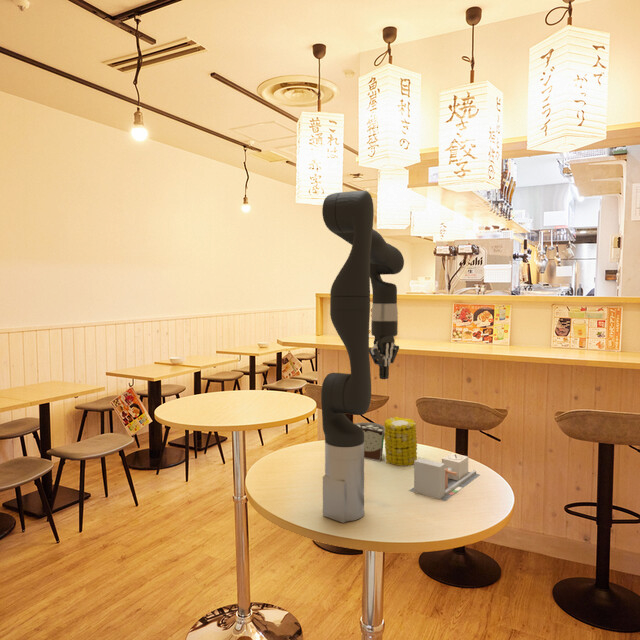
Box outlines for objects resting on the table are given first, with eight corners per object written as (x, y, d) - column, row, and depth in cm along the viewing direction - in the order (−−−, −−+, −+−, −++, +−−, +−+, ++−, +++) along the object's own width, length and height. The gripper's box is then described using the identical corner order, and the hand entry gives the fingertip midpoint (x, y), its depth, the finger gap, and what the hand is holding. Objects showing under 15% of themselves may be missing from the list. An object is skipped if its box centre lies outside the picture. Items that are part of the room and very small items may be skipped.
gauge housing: (454, 484, 129) (454, 464, 128) (436, 479, 132) (436, 460, 132) (468, 474, 136) (468, 455, 135) (451, 470, 139) (451, 451, 138)
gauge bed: (445, 506, 119) (445, 468, 119) (408, 496, 125) (409, 459, 125) (480, 479, 136) (480, 446, 135) (446, 471, 142) (446, 439, 142)
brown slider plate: (455, 491, 124) (455, 472, 123) (429, 485, 128) (430, 466, 128) (457, 490, 125) (457, 471, 124) (432, 483, 129) (432, 465, 129)
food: (420, 468, 150) (405, 480, 142) (387, 452, 156) (371, 462, 148) (430, 422, 146) (415, 432, 138) (396, 408, 153) (379, 416, 145)
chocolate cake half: (392, 456, 156) (392, 425, 156) (384, 462, 151) (384, 430, 150) (358, 449, 163) (358, 420, 162) (349, 455, 157) (349, 424, 157)
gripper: (382, 320, 134) (381, 383, 135) (407, 319, 144) (407, 377, 145) (360, 319, 139) (360, 380, 140) (386, 318, 149) (385, 374, 150)
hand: (384, 378), depth 143 cm, fingers closed
